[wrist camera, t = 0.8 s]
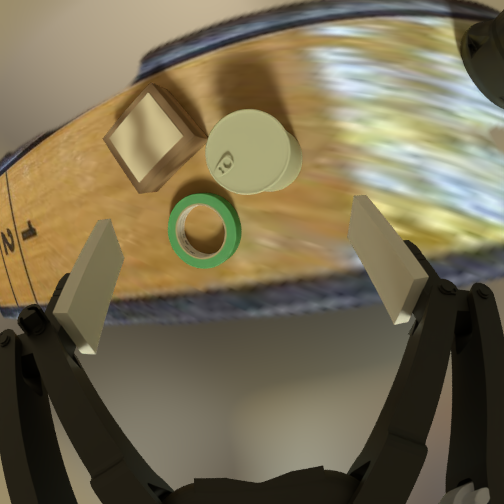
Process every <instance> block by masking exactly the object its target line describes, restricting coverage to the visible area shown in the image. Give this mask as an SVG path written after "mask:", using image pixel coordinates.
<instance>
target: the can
mask: <svg viewBox="0 0 504 504" xmlns="http://www.w3.org/2000/svg"><path fill="white" fill-rule="evenodd" d="M205 155H206V162H207V166H208V169H209V171H210V173H211V175H212V176H213V178H214V179H215V180H216V181H217V183H219V184H220V185H221V186H222V187H224V188H225V189H227V190H229V191H231V192H234V193H237V194H244V195H251V194H257V193H260V192H263V191H277V190H281V189H283V188H285V187H287V186H288V185H290V184H291V183H292V182H293V181H294V180H295V179H296V177H297V176H298V174H299V172H300V170H301V166H302V151H301V148H300V146H299V144H298V142H297V140H296V139H295V138H294V137H293V136H292V135H291V134H290V133H289V132H287V131H286V130H285V128H284V127H283V126H282V124H281V123H280V122H279V121H278V120H277V119H276V118H275V117H273V116H272V115H270V114H268V113H266V112H264V111H261V110H256V109H243V110H238V111H235V112H232V113H230V114H228V115H226V116H225V117H223V118H222V119H221V120H220V121H219V122H218V123H217V124H216V125H215V126H214V128H213V129H212V131H211V133H210V134H209V137H208V140H207V143H206V151H205Z"/></svg>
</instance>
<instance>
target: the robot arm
mask: <svg viewBox="0 0 504 504" xmlns="http://www.w3.org/2000/svg"><path fill="white" fill-rule="evenodd" d="M461 54H462V58H463V62H464V64H465V67H466V69H467V71H468V73H469V75H470V77H471V79H472V80H473V82H474V83H475V85H476V86H477V87H478V89H479V90H480V91H481V92H482V93H483V94H484V95H485V96H486V97H487V98H488V99H489V100H490V101H491V102H493V103H494V104H495V105H497V106H499V107H500V108H503V109H504V10H503V11H502V12H501V13H500V14H499V15H498V16H497V17H496V18H495V19H493V20H488V21H484V22H480V23H476V24H474V25H473V26H471V27H470V28H469V29H468V30H467V32H466V33H465V34H464V36H463V38H462V41H461ZM347 237H348V239H349V241H350V243H351V244H352V246H353V248H354V250H355V251H356V253H357V255H358V257H359V258H360V260H361V262H362V264H363V266H364V267H365V269H366V271H367V273H368V275H369V277H370V278H371V280H372V282H373V284H374V286H375V288H376V290H377V292H378V294H379V295H380V297H381V299H382V301H383V303H384V305H385V307H386V309H387V311H388V313H389V315H390V317H391V319H392V321H393V323H394V325H395V324H400V323H404V322H408V321H409V319H410V317H411V315H412V313H413V314H414V316H415V318H416V320H415V322H414V324H413V326H412V328H411V330H410V332H409V333H408V334H409V335H410V337H409V340H408V343H407V346H406V349H405V352H404V355H403V358H402V361H401V364H400V367H399V369H398V372H397V375H396V377H395V380H394V382H393V385H392V387H391V390H390V392H389V395H388V397H387V400H386V402H385V404H384V407H383V409H382V411H381V413H380V415H379V418H378V420H377V422H376V425H375V426H374V428H373V430H372V433H371V435H370V437H369V438H368V440H367V443H366V444H365V447H364V448H363V450H362V452H361V453H360V455H359V456H358V457H357V459H356V460H355V462H354V463H353V465H352V466H351V468H350V470H349V471H348V473H347V474H345V473H342V472H338V471H333V470H324V468H323V466H318V467H313V468H308V469H302V470H296V471H292V472H289V473H286V474H284V475H281V476H279V477H276V478H273V479H270V480H268V481H265V482H261V483H254V482H247V481H241V480H234V479H228V478H206V479H205V478H194V483H192V484H188V485H186V486H183V487H181V488H179V489H177V490H175V491H174V490H173V489H172V488H171V487H170V486H169V485H168V484H167V483H166V482H165V481H164V480H163V479H162V478H160V477H159V476H158V475H157V474H156V473H155V472H154V471H153V470H152V469H151V468H150V466H149V465H148V464H147V463H146V462H145V460H144V459H143V458H142V456H141V455H140V454H139V453H138V452H137V450H136V449H135V447H134V446H133V445H132V443H131V442H130V441H129V439H128V438H127V437H126V436H125V434H124V433H123V431H122V430H121V428H120V427H119V425H118V424H117V423H116V421H115V420H114V418H113V417H112V415H111V414H110V412H109V411H108V409H107V407H106V406H105V404H104V403H103V401H102V400H101V398H100V397H99V395H98V393H97V391H96V390H95V388H94V387H93V385H92V383H91V382H90V380H89V378H88V376H87V374H86V373H85V371H84V369H83V367H82V365H81V363H80V362H79V360H78V358H77V356H76V355H75V354H74V351H75V348H76V347H77V348H78V349H79V351H80V352H81V353H82V354H96V351H97V347H98V343H99V339H100V336H101V331H102V328H103V324H104V321H105V317H106V314H107V310H108V307H109V304H110V300H111V297H112V294H113V291H114V288H115V285H116V281H117V278H118V275H119V272H120V269H121V267H122V264H123V261H124V256H123V254H122V251H121V248H120V245H119V243H118V240H117V237H116V234H115V231H114V228H113V225H112V222H111V219H104V220H98V222H97V224H96V225H95V227H94V229H93V231H92V232H91V234H90V236H89V238H88V240H87V242H86V243H85V245H84V247H83V249H82V251H81V253H80V255H79V257H78V259H77V261H76V263H75V265H74V267H73V269H72V271H71V273H66V274H65V275H64V276H63V277H62V278H61V279H60V281H59V282H58V285H57V287H56V290H55V291H54V293H53V297H51V300H50V302H49V304H48V306H47V309H46V311H45V313H44V312H43V310H42V309H41V307H40V306H39V305H37V304H32V305H29V306H27V307H26V308H25V309H23V310H22V312H21V313H20V314H19V317H18V325H19V326H20V327H21V329H22V330H23V331H24V334H21V335H18V336H17V335H16V334H15V332H14V331H13V330H11V329H7V330H4V331H3V332H1V333H0V454H1V461H2V466H3V471H4V476H5V480H6V484H7V488H8V492H9V496H10V500H11V503H12V504H78V503H77V500H76V498H75V495H74V492H73V490H72V487H71V484H70V481H69V478H68V475H67V472H66V469H65V466H64V462H63V459H62V455H61V452H60V448H59V445H58V441H57V437H56V432H55V428H54V424H53V419H52V414H51V409H50V404H49V398H48V395H49V397H50V399H51V402H52V404H53V406H54V408H55V411H56V413H57V415H58V417H59V419H60V421H61V423H62V425H63V427H64V429H65V431H66V433H67V435H68V437H69V439H70V441H71V442H72V444H73V446H74V448H75V450H76V451H77V453H78V455H79V457H80V458H81V460H82V462H83V464H84V465H85V467H86V468H87V470H88V472H89V473H90V475H91V478H92V479H91V481H90V484H91V487H92V489H93V490H94V492H95V493H96V495H97V496H98V498H99V499H100V501H101V502H102V503H103V504H406V502H407V500H408V497H409V496H410V493H411V491H412V489H413V487H414V485H415V483H416V480H417V478H418V476H419V474H420V471H421V469H422V466H423V464H424V461H425V459H426V456H427V451H428V448H427V446H426V445H425V443H426V439H427V436H428V433H429V430H430V427H431V424H432V421H433V418H434V415H435V412H436V408H437V405H438V401H439V398H440V394H441V391H442V387H443V383H444V378H445V374H446V370H447V366H448V361H449V356H450V351H451V355H452V356H451V357H452V419H451V435H450V445H449V455H448V463H447V472H446V494H445V495H444V496H443V498H442V499H441V501H440V502H439V503H438V504H504V334H503V330H502V326H501V321H500V317H499V312H498V309H497V305H496V301H495V297H494V294H493V292H492V291H491V289H490V288H489V287H488V286H486V285H485V284H482V283H475V284H473V286H472V287H471V289H470V291H466V290H458V289H457V287H456V286H455V285H454V284H453V283H452V282H450V281H449V280H446V279H440V277H439V276H438V274H437V273H436V272H435V270H434V269H433V267H432V266H431V265H430V263H429V262H428V261H427V260H426V258H425V257H424V255H423V254H422V253H421V251H420V250H419V249H418V247H417V246H416V245H414V244H413V243H412V242H410V241H409V240H402V239H401V238H400V236H399V235H398V234H397V232H396V231H395V230H394V229H393V227H392V226H391V225H390V223H389V222H388V221H387V220H386V218H385V217H384V216H383V215H382V214H381V212H380V211H379V210H378V209H377V207H376V206H375V205H374V204H373V203H372V201H371V200H370V199H369V198H368V197H367V196H366V195H359V196H354V198H353V205H352V211H351V218H350V224H349V230H348V236H347Z"/></svg>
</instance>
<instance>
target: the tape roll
mask: <svg viewBox="0 0 504 504" xmlns="http://www.w3.org/2000/svg"><path fill="white" fill-rule="evenodd" d="M198 205H202V206H207V207H209V208H211V209H213V210H214V211H215V212H216V213H217V214H218V215H219V217H220V218H221V220H222V222H223V225H224V229H225V237H224V242H223V244H222V246H221V248H220V249H219V250H218V251H217V252H216V253H213V254H205V253H201V252H199V251H197V250H196V249H194V248H193V247H192V246H191V245H190V243H189V242H188V240H187V238H186V236H185V231H184V224H185V219H186V217H187V215H188V213H189V212H190V211H191V210H192V209H193V208H194V207H196V206H198ZM168 236H169V240H170V243H171V246H172V248H173V250H174V251H175V253H176V254H177V255H178V256H179V257H180V258H181V259H182V260H183V261H184V262H186V263H187V264H189V265H191V266H193V267H197V268H212V267H215V266H218V265H220V264H221V263H223V262H224V261H226V260H227V259H229V258H230V257H231V256H232V255H233V254H234V253H235V251H236V250H237V248H238V246H239V243H240V240H241V223H240V219H239V217H238V214H237V212H236V211H235V209H234V208H233V206H232V205H231V204H230V203H229V202H228V201H227V200H226V199H224V198H223V197H221V196H219V195H216V194H213V193H197V194H192V195H189V196H187V197H185V198H183V199H182V200H180V201H179V202H178V203H177V204H176V206H175V207H174V208H173V210H172V212H171V214H170V217H169V222H168Z"/></svg>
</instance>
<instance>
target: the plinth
mask: <svg viewBox="0 0 504 504" xmlns="http://www.w3.org/2000/svg"><path fill="white" fill-rule="evenodd" d="M103 140H104V142H105V143H106V145H107V146H108V148H109V150H110V151H111V153H112V154H113V156H114V157H115V159H116V160H117V162H118V163H119V165H120V166H121V168H122V169H123V171H124V172H125V174H126V175H127V177H128V178H129V180H130V181H131V183H132V184H133V186H134V187H135V189H136V190H137V192H138V193H139V194H141V193H150V192H157V191H158V190H159V189H160V188H161V187H162V186H163V185H164V184H165V183H166V182H167V181H168V180H169V179H170V178H171V177H172V176H173V175H174V174H175V173H176V172H177V171H178V170H179V169H180V168H181V167H182V166H183V165H184V164H185V163H186V162H187V161H188V160H189V159H190V158H191V157H192V156H193V155H194V154H195V153H196V152H197V151H199V150H200V149H201V148H202V147H203V146H204V145H205V144H206V143H207V140H208V138H207V136H206V135H205V134H204V133H203V131H202V130H201V129H200V128H199V127H198V125H197V124H196V123H195V122H194V121H193V119H192V118H191V117H190V116H189V115H188V113H187V112H186V111H185V110H184V109H183V107H182V106H181V105H180V104H179V103H178V102H177V100H176V99H175V98H174V97H173V96H172V94H171V93H170V92H169V91H168V90H167V89H164V88H162V87H160V86H158V85H155V84H153V83H150V84H149V85H148V86H147V87H146V88H145V89H144V90H143V91H142V92H141V93H140V94H139V96H138V97H137V98H136V99H135V100H134V101H133V102H132V103H131V105H130V106H129V107H128V108H127V109H126V110H125V112H124V113H123V114H122V115H121V116H120V118H119V119H118V120H117V121H116V122H115V124H114V125H113V126H112V127H111V129H110V130H109V131H108V133H107V134H106V135H105V136H104V138H103Z"/></svg>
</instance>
